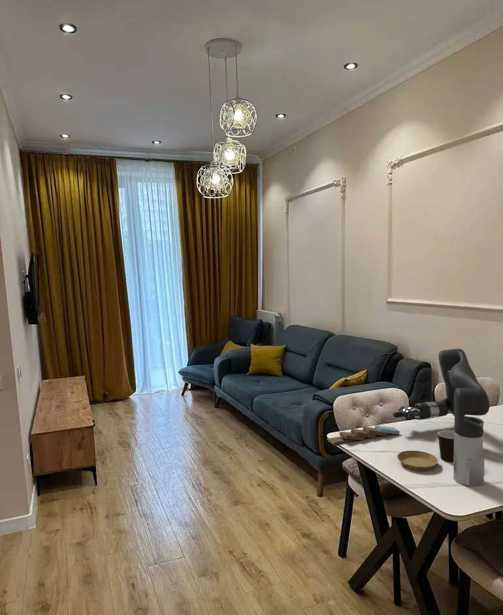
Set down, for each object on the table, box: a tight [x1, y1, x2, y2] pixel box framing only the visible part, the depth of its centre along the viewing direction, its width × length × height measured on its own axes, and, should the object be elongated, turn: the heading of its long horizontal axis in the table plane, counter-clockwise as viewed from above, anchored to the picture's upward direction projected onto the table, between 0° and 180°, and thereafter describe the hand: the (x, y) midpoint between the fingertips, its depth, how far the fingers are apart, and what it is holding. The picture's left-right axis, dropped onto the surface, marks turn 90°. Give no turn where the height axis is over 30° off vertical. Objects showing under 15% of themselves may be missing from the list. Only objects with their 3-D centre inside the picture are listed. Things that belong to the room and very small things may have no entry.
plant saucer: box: [397, 449, 438, 471], centre depth 174 cm, size 15×15×3 cm
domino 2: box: [338, 431, 366, 441], centre depth 199 cm, size 2×5×10 cm
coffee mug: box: [437, 430, 454, 463], centre depth 178 cm, size 12×9×10 cm
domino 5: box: [374, 424, 400, 435], centre depth 205 cm, size 2×5×10 cm
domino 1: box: [327, 435, 354, 446], centre depth 198 cm, size 2×5×10 cm
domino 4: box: [362, 425, 389, 437], centre depth 203 cm, size 2×5×10 cm
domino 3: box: [350, 428, 377, 439], centre depth 201 cm, size 2×5×10 cm
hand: (393, 415), depth 205 cm, fingers closed
